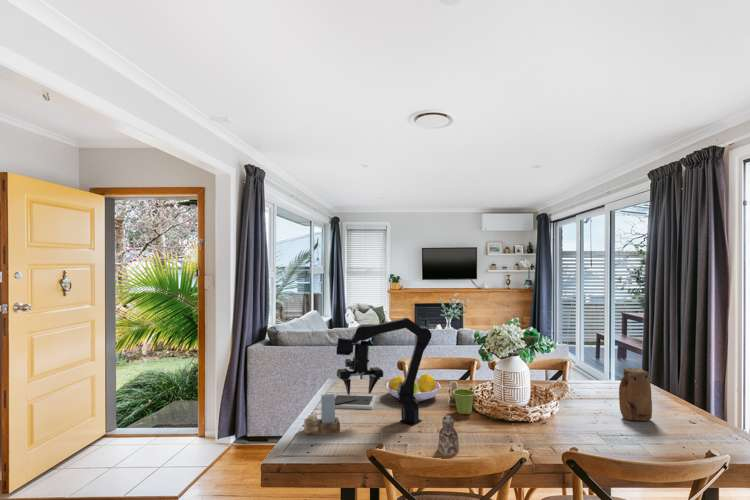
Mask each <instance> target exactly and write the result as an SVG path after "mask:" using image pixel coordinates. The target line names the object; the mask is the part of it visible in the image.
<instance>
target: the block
mask: <svg viewBox="0 0 750 500" xmlns="http://www.w3.org/2000/svg"><path fill="white" fill-rule="evenodd" d="M651 385H652V384H651V380H650V373H649V372H648V371H645V370H644V369H642V368H638V367H637V368H632V367H627V368H624V369H623V376H621V380H620V383H619V385H618V398H619V399H618V400H619V410H620V414H621V416H622V418H623V419H625V420H627V421H638V422H639V421H640V422H641V421H643V422H646V421H650V420H651V419H652V418H653V417H652V416H653V400H652V386H651Z"/></svg>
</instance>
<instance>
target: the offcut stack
mask: <svg viewBox="0 0 750 500" xmlns="http://www.w3.org/2000/svg"><path fill="white" fill-rule="evenodd" d="M317 419H318V416H317V414H310V415H308V416H307V418H304V419H303V420H304V427H305V431H306V433H309V432H318V422H317ZM305 431H304V432H305Z"/></svg>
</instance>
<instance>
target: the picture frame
mask: <svg viewBox="0 0 750 500" xmlns="http://www.w3.org/2000/svg"><path fill="white" fill-rule="evenodd" d="M334 395H335V409H349V410H350V409H351V410H352V409H353V410H354V409H355V410H373V408H374V406H375V403H376V401H377V399H378V398H377V397H378V395H377V394H376V395H374V394H351V393H350V394H349V395H348V394H344V393H334Z"/></svg>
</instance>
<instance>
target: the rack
mask: <svg viewBox="0 0 750 500" xmlns="http://www.w3.org/2000/svg"><path fill="white" fill-rule="evenodd" d="M317 422H318V432H309V433H306V431H305V426H304V429H303V431H304V436H306V437H307V436H316V435H327V434H336V433H338V434H339V433H341V422H340V419H339V417H337V416H335V422H334V423H324V424H321V418H317Z"/></svg>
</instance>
